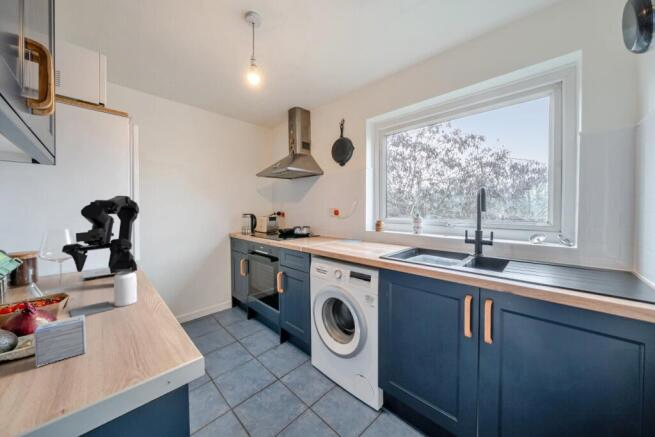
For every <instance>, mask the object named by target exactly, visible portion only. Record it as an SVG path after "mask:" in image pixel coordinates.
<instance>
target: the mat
mask: <svg viewBox="0 0 655 437" xmlns="http://www.w3.org/2000/svg"><path fill="white" fill-rule="evenodd" d="M114 309H115V308H114V306H113V305H112V304H111V302H109V301H103V302H98V303H95V304H89V305H84V306H79V307H77V308H72V309H69V310H68V311H69V314H70V316H71V317H76V316H80V315H85V317H88V316H92V315H96V314H100V313H103V312H108V311H112V310H114ZM71 317H70V318H71Z"/></svg>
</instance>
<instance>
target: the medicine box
mask: <svg viewBox="0 0 655 437" xmlns="http://www.w3.org/2000/svg"><path fill="white" fill-rule="evenodd" d="M86 332H87V331H86V316H85V315H80V316H76V317H67V318H62V319H58V320H54V321H50V322H45V323H44V322H43V323H41V324H38V325H37V326H36V328H35V330H34V332H33V335H34V352H35V353H34V354H35V367H36V366H38V365H42V364H46V363H51V362H54V363H56V362H55V361H57V362H59V361H58V360H61V359H64V358H67V359H69V358H68V357H71V358H73V357H72V356H74V357H76V355H77V356H80V354H81V355H83V353H84V354H86V352H87V336H86V335H87V334H86ZM64 360H65V359H64ZM61 361H62V360H61ZM51 364H52V363H51Z"/></svg>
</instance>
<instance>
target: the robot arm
mask: <svg viewBox="0 0 655 437" xmlns="http://www.w3.org/2000/svg"><path fill="white" fill-rule="evenodd" d="M139 214H140V207H139V205H138V203H137V201H134V200H133V199H131V196H128V195H115V196H114V197H111V198H109V199H96V200H95V199H94V201H90V203H89V204H88V205H85V206H84V207H82V208H81V209H80V215H81V216H82V217H83V218H84V219H86V221H88V222H89V223H90V224H91V225H92V226H91V229H88V230H87V231H83V232H75V242H76V243H68V244H65V245H63V246H62V248H61V252H62V253H64V254H66V255H69V256H71V258H72V259H73V261H74V264H75V268H76V271H77V272H79V273H82V271H83V269H84V266H85V263H86V262H87V258H88V255H87V254H88V251H96V250H103V249H104V250H105V249H109V252H110V253H109V259H108V265H107V268H109V271H110V272H109V273H110V274H115V273H117V272H121V271H128V270H133V271H136V272H137V271H138V267H137V266H138V265H137V261H135V258H134V257H135V256H134V255H133V253H132V252H131V250H132V247H133V243H132V232H133V223H134V222H135V221H136V220H137V219H138V217H139V216H138V215H139ZM112 215H116V216H117V218H118V219H119V231H118V238H113V239H112V237H114V236H115V234H114V232H113V228H114V223H115V219H114V217H113V216H112ZM80 242H81V243H82V242H83V244H85V245H83V244H81V243H80Z"/></svg>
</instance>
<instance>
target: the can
mask: <svg viewBox="0 0 655 437" xmlns="http://www.w3.org/2000/svg"><path fill="white" fill-rule="evenodd" d="M114 274H115V275H114V276H113V293H114V294H113V296H114V306H115V307H118V308H121V307H128V306H131V305H133V304H135V303H137V301H138V285H137V281H138V280H137V274H136V272H135V271H133V270H128V271H121V272H117V273H114Z"/></svg>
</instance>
